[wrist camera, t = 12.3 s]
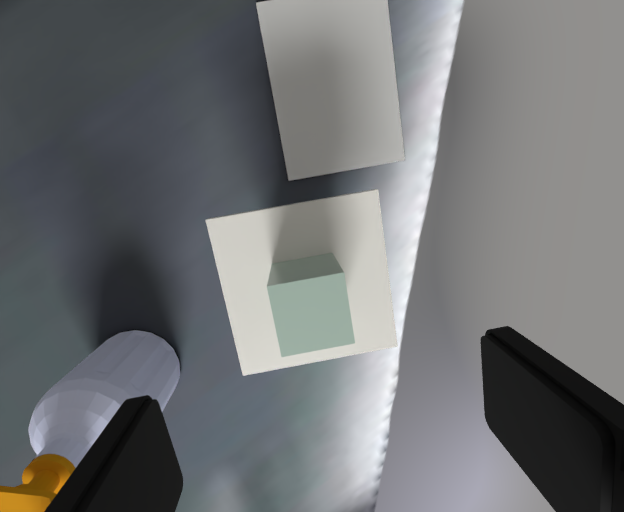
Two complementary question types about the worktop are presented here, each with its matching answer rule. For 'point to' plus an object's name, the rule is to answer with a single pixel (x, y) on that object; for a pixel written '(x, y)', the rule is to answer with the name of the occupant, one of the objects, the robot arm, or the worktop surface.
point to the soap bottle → (89, 411)
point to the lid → (305, 281)
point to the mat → (332, 84)
